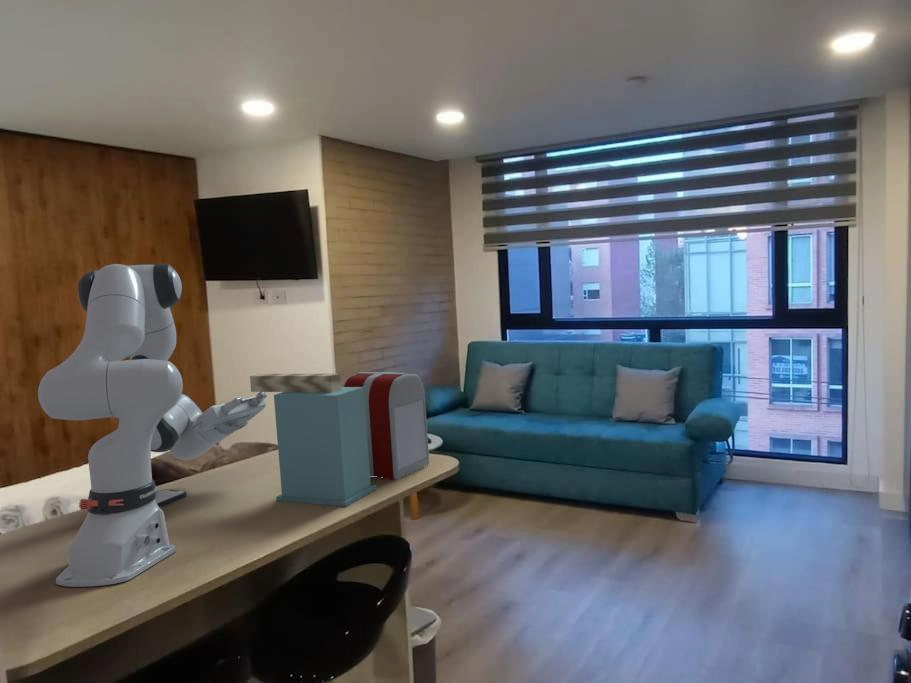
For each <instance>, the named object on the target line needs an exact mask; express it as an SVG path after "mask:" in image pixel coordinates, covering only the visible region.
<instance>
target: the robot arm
mask: <svg viewBox="0 0 911 683" xmlns="http://www.w3.org/2000/svg"><path fill="white" fill-rule="evenodd" d="M182 286H183V284H182V281H181V278H180V276H179V274H178V272H177V269H176V268H175V267H173V266H172V265H171V264H169V263H162V262H161V263H159V262H158V263H154V264H135V265H134V264H132V265H126V264H119V263H112V264H109V265H105V266H103V267H102V268H100V269H99V270H98V269H95V270H94V269H93V270H91V271H87V272H86V273H84V274H83V275H82V276H81V278H80V279H79V280H78V283H77V296H78V300H79V302H80V304H81V306H82V309H83V310H84V312H86V320H85V327H84V332H83V336H82V339H81V341H80V343H79V344H78V346H77V347H76V348H75V350H74V351H73V352H72V354H71V355H69V356H68V357H67V358H66V359H65V360H64V361H63V362H60V364H59V365H56V367H53V368H52V369H50V370H48V371H47V372H46V373H45V374H44V376H43V377H42V379H41V380H40V383H39V386H38V389H37V398H38V402H39V405H40V407H41V408H42V410H43V412H44V413H45V414H46V415H47V416H49V417H50V418H51V419H54V420H63V421H64V420H67V421H88V420H95V419H96V420H97V419H106V418H107V419H108V418H118V427H117V429H115V430H113V431H112V432H110V433H109V434H107V435H105V436H103V437H101V438H100V439H99V440H97V441H96V442H95V443H94V444H92V446H91V448H90V449H89V451H88V454H87V455H88V456H87V460H88V468H89V469H88V471H89V478H90V481H89V482H90V487H91V488H90V490H89V494H88V497H87V498H81V499H80V500H79V503H78V507H79V509H80V511H85V510H86V511H87V515H86V517H85V519H84V520H83V523H82V524H81V526H80V528H79V530H78V531H77V533H76V535H75V536H74V539H73V540H72V542H71V544H70V546H69V552H68V562H69V563H68V565H67V567H66V568H65V569H63V571H62V572H61V573H60V574H58V576H57V577H56V578H55V584H56V585H58V586H63V587H73V588H74V587H75V588H78V587H79V588H80V587H83V588H84V587H85V588H86V587H99V586H108V585H114V584H115V585H116V584H119V583H124V582H127V581H129V580H131V579H133V578H135V577H136V576H138V575H139V574H141V573H143V572H144V571H146V570H148V569H149V568H151V567H153V566H155V565H156V564H158V563H160V562H161V561H162V560H164V559H166V558H167V557H169V556H171V555H172V554H174V553H175V552H177V550H176V546H175V545H174V544H172V543H170V540H169V539H170V538H169V535H168V529H167V523H166V519H165V518H166V517H165V512H164V511H163V510H162V509H161V507H159V506H158V505H157V503H156V501H155V498H156V492H157V486H156V481H155V480H154V479H153V477H152V476H153V473H152V458H151V457H152V455H151V454H152V452H153V453H165V452H168V451H169V452H170V454H171V455H172V456H173V457H175V458H176V459H178V460H181V461H191V460H194V459H197V458H198V457H200V456H202V455H204V454H205V453H207V452H208V451H209V450H211V449H212V448H213V447H214V445H216V444H218V443H221V442H222V441H223V440H225V439H226V438H228V437H229V436H230V435H232V434H234V432H236V431H238V430H240V429H243V428H244V427H246V426H247V425H248V422H249V421H251V420H252V419H254V418H255V417H257V415H258V414H260V413H261V412H262V411H263V410H264V409H265V408H266V407H267V403H266V401H265V399H266V398H267V397H268V396H267V395H268V394H267V392H257V394H256V395H253V396H250V397H249V396H248V397H246V398H242V397H240V396H239V397H235V398H233V399H232V400H230V401H228V402H225V403H222V404H218V405H217V404H215V405H212V406H210V407H209V408H207V409H206V410H204V411H202V409H201V408H200V406H198V404H197V403H196V402H195V401H194V400H193V399H192V398H191V397H190V396H188V395H187V394H185V393H183V390H184V389H183V387H184V382H183V378H182V374H181V373H180V371H179V369H178V368H177V366H176V365H175V364H174V363H172V362H171V361H169V359H170V358H171V356H172V354H173V353H174V351H175V349H176V346H177V329H176V324H175V320H174V318H173V313H172V310H171V307H173V306H175V305H177V304H178V303H179V301H180V300H181V298H182V290H183V289H182V288H183V287H182ZM127 358H130V359H127ZM125 359H127V360H125Z"/></svg>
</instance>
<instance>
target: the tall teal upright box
mask: <svg viewBox="0 0 911 683" xmlns="http://www.w3.org/2000/svg"><path fill="white" fill-rule="evenodd" d="M273 401H274V402H273V403H274V415H275V425H276V426H275V427H276V438H277V451H278V462H279V463H278V464H279V475H280V486H281V487H280V489H281V494H279V495H277V496H276V497H275V499H276V500H275V501H277V502H284V503H285V502H288V503H299V504H309V505H310V504H311V505H312V504H313V505H322V506H336V507H348V506H349V507H350V506H351V505H352V504H354V503H355V502H357V501H359V500H360V499H362V498H364V497H365V495H366V494H367V495H369V494H370V492H371V491H372V492H374V491H375V489H376V490H377V484H371V477H370V470H369V456H368V441H367V427H366V413H365V399H364V387H343V386H341V390H339V391H335V392H278V393H276V394H273ZM373 490H374V491H373ZM372 492H371V493H372ZM368 493H369V494H368ZM367 495H366V496H367ZM363 496H364V497H363Z"/></svg>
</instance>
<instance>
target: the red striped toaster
mask: <svg viewBox="0 0 911 683" xmlns="http://www.w3.org/2000/svg"><path fill="white" fill-rule="evenodd" d="M342 387H364V399H365V413H366V427H367V441H368V456H369V470H370V476H377V477H383V478H389V479H388V480H392V479H393V480H394V479H397V480H399V478H400V479H402V478H404V477H406V476H408V475H407V474H409V475H411V474H413V473H415V472H417V471H416V470H418V469H420V468H422V467H424V466H426V465H428V464H429V465H430V455H429V437H428V422H427V407H426V406H427V405H426V392H425V387H424V382H422V379H421V378H420V376H419V375H418V374H416V373H408V372H395V371H393V372H392V371H382V372H381V371H380V372H379V371H373V372H372V371H360V372H356V374H352V375H350V376H348V377H347V378H346V379H345V381H344V383H343V385H342ZM426 467H427V466H426ZM424 468H425V467H424ZM422 469H423V468H422ZM420 470H421V469H420ZM414 471H415V472H414ZM418 471H419V470H418ZM412 472H413V473H412ZM410 473H411V474H410ZM405 475H406V476H405ZM403 476H404V477H403ZM401 477H402V478H401ZM383 478H382V479H383Z"/></svg>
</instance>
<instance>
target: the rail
mask: <svg viewBox="0 0 911 683" xmlns="http://www.w3.org/2000/svg"><path fill="white" fill-rule="evenodd" d="M249 381H250V392H251V393H259V392H265V393H282V392H335V391H339V390H341V387H342V386H341V384H342V383H341V373H258V374H257V373H256V374H253V375H249Z"/></svg>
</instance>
